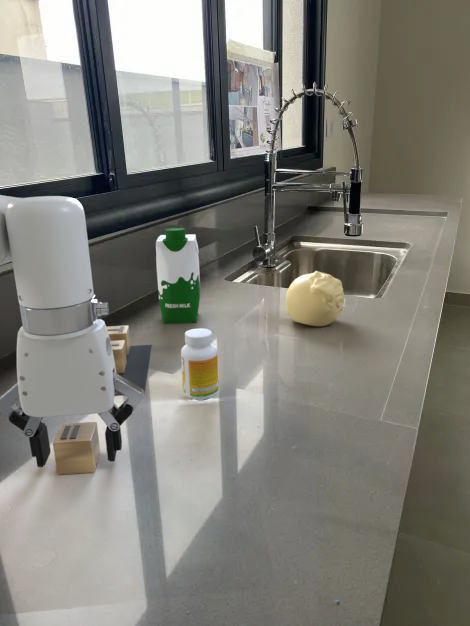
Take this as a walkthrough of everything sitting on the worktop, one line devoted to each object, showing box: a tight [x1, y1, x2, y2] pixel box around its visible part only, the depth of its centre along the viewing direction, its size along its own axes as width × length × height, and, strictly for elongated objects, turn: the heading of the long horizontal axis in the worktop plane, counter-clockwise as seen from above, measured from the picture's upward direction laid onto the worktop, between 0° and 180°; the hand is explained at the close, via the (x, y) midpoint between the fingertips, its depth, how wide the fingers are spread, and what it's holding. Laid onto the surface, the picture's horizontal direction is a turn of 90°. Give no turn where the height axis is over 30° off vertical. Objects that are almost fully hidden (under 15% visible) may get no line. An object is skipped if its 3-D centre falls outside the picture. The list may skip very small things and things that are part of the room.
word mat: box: [114, 344, 153, 397], centre depth 83 cm, size 12×20×1 cm, turn 6°
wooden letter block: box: [110, 340, 127, 373], centre depth 83 cm, size 4×4×4 cm
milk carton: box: [155, 227, 201, 325], centre depth 105 cm, size 9×9×20 cm
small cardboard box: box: [106, 325, 131, 355], centre depth 90 cm, size 4×4×4 cm
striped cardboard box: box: [52, 421, 101, 476], centre depth 58 cm, size 4×4×4 cm
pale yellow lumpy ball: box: [285, 270, 345, 327], centre depth 103 cm, size 12×12×11 cm
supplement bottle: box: [180, 327, 220, 401], centre depth 74 cm, size 5×5×10 cm
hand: (78, 456), depth 59 cm, fingers open, 7 cm apart
